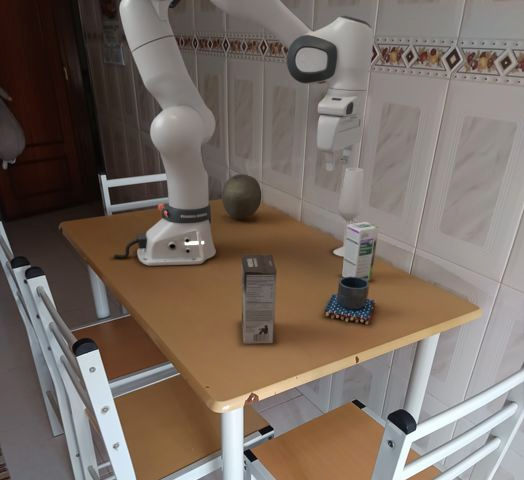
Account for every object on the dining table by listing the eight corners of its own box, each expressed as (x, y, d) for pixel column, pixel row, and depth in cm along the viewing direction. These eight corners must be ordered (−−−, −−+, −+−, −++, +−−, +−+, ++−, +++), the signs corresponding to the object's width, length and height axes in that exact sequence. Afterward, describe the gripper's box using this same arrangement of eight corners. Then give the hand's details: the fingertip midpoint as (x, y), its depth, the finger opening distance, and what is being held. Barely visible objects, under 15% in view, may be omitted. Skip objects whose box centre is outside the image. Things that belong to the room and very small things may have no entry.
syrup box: (353, 284, 128) (361, 230, 120) (340, 275, 133) (347, 223, 125) (371, 280, 130) (379, 227, 123) (357, 272, 135) (365, 220, 127)
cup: (345, 312, 110) (347, 290, 107) (331, 299, 115) (334, 278, 112) (371, 308, 112) (374, 286, 109) (356, 296, 117) (359, 275, 114)
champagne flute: (344, 258, 144) (354, 173, 131) (328, 251, 148) (337, 168, 136) (360, 253, 147) (372, 170, 134) (344, 247, 152) (354, 165, 139)
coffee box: (240, 323, 109) (241, 253, 100) (269, 322, 109) (272, 253, 101) (242, 344, 101) (243, 271, 92) (274, 343, 102) (277, 271, 93)
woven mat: (369, 326, 109) (370, 318, 108) (322, 317, 112) (323, 310, 111) (375, 306, 118) (377, 298, 116) (332, 299, 120) (333, 291, 119)
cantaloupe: (213, 218, 173) (212, 174, 165) (243, 211, 181) (244, 168, 173) (239, 228, 164) (239, 182, 156) (270, 220, 172) (271, 176, 164)
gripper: (348, 99, 120) (341, 158, 127) (314, 105, 105) (308, 172, 112) (373, 101, 118) (364, 162, 125) (342, 108, 102) (334, 176, 110)
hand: (337, 167), depth 118 cm, fingers open, 8 cm apart
